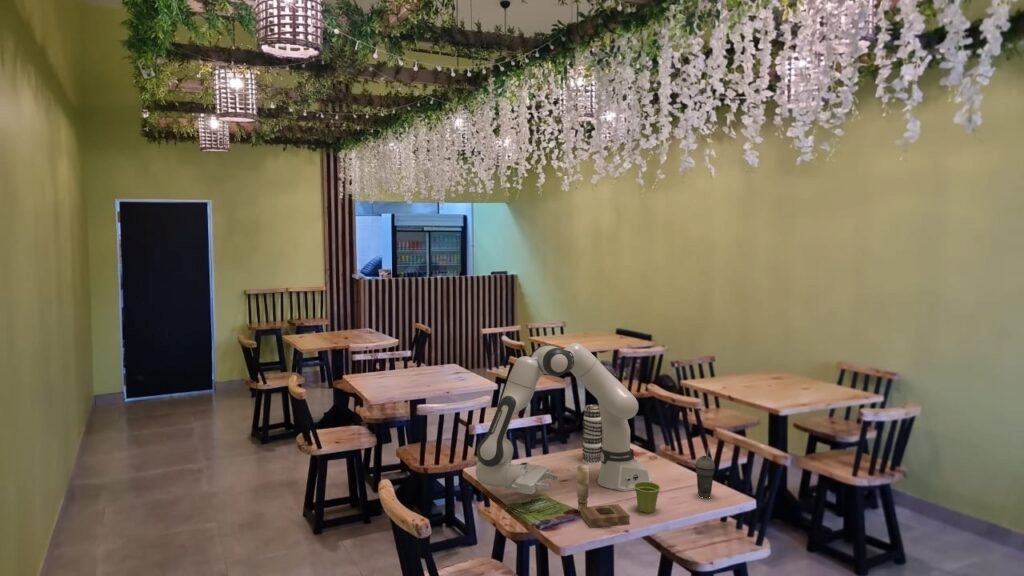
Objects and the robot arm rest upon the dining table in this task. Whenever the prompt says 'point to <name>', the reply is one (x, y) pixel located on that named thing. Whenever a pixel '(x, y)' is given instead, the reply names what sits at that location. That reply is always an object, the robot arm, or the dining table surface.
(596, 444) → the decorative candle
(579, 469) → the peg
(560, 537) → the dining table surface
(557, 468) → the dining table surface
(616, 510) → the brown wooden frame
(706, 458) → the beverage cup
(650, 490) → the plant pot
